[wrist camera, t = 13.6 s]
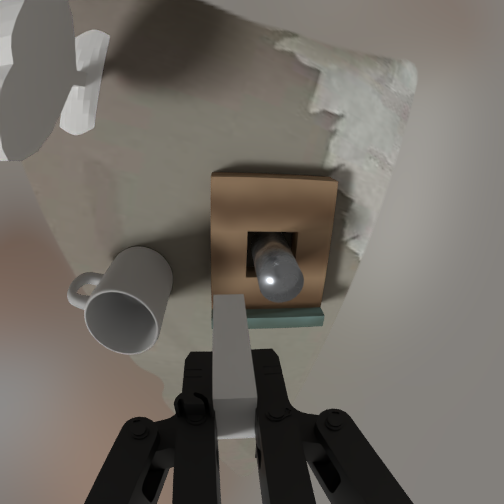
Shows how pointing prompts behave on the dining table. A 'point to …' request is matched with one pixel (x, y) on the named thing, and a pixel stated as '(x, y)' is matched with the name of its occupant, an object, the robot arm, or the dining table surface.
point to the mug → (126, 300)
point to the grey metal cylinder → (275, 267)
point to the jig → (272, 220)
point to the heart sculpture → (45, 74)
